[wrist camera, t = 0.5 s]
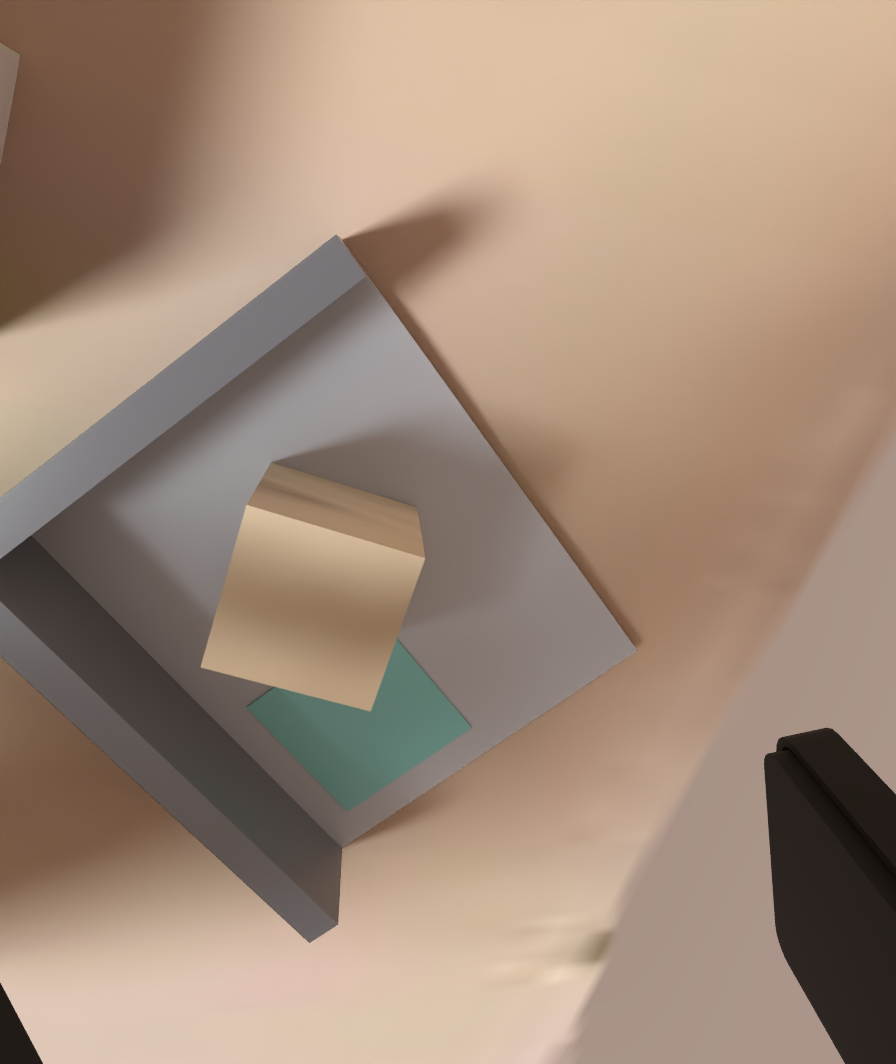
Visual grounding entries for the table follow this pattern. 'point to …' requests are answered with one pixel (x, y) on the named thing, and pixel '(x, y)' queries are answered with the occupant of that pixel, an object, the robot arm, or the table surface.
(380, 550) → the birch block
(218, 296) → the table surface
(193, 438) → the arena
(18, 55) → the puzzle toy
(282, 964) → the table surface
